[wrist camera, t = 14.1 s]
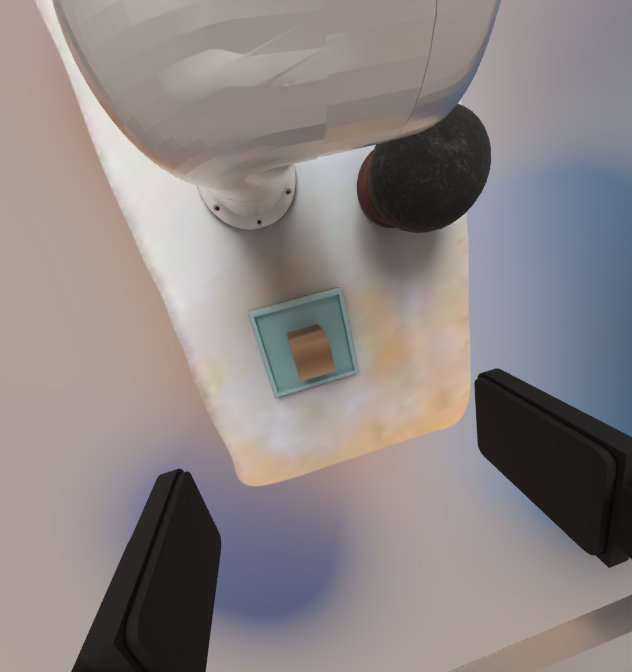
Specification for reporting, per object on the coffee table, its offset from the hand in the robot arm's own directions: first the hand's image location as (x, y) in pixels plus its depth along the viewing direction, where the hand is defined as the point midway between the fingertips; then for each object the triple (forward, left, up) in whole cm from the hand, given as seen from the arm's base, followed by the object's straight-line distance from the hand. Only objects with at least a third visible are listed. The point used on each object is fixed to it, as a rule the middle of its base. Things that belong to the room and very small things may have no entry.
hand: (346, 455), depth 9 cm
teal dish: (+9, +2, -36) cm, 37 cm away
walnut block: (+9, +2, -35) cm, 36 cm away
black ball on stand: (-10, +20, -36) cm, 43 cm away
